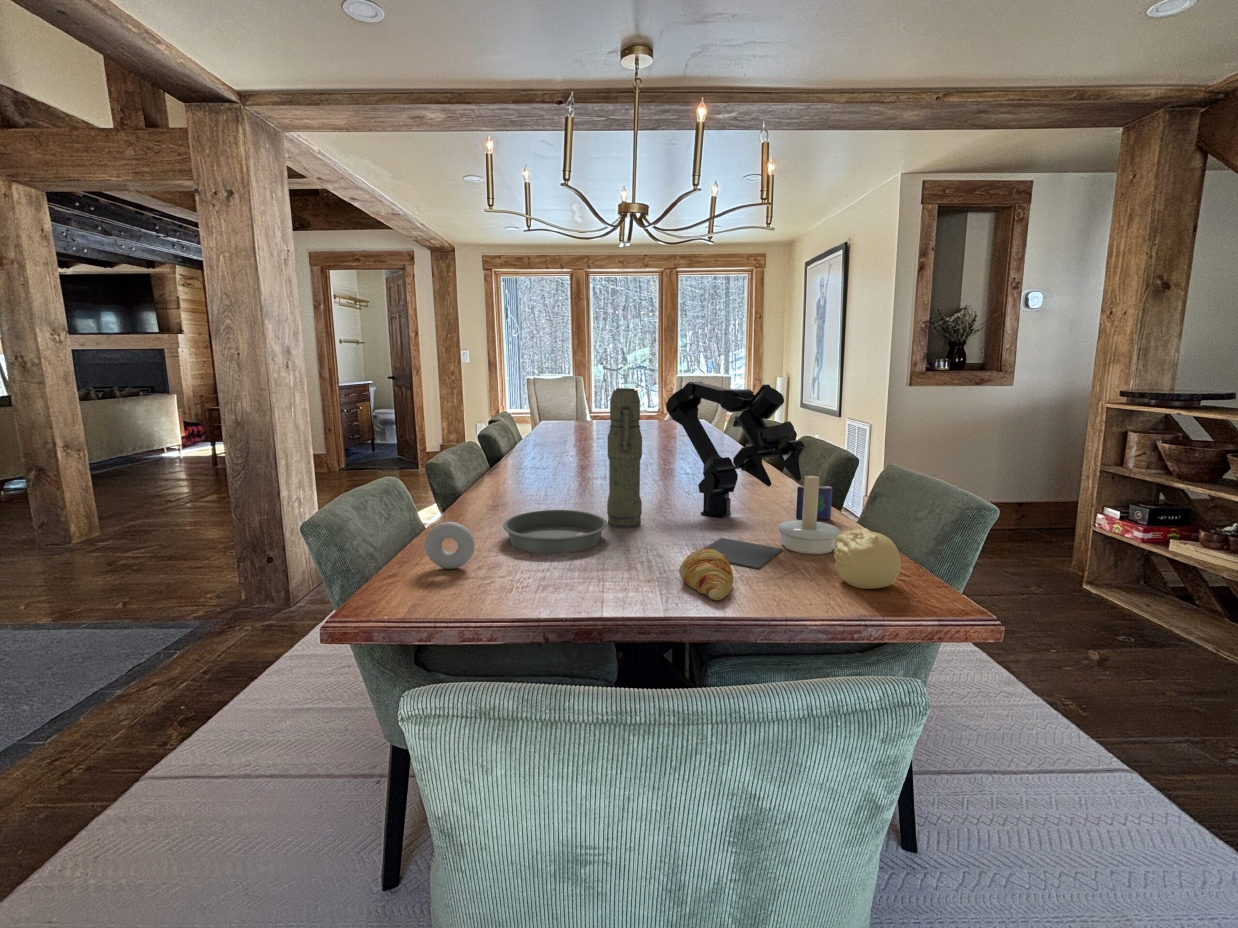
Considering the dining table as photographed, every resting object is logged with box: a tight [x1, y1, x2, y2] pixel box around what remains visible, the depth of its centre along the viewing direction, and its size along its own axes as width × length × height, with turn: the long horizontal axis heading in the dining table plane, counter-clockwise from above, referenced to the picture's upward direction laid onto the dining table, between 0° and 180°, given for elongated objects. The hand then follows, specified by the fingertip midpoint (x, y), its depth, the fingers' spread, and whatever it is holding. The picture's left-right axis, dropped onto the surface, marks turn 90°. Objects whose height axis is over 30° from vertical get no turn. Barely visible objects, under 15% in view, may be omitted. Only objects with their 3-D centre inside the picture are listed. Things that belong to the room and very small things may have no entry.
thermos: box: [606, 387, 643, 529], centre depth 159 cm, size 9×12×35 cm
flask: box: [795, 485, 833, 521], centre depth 166 cm, size 9×3×11 cm, turn 88°
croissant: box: [678, 548, 734, 601], centre depth 119 cm, size 21×10×8 cm, turn 6°
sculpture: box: [833, 527, 902, 590], centre depth 119 cm, size 11×12×11 cm
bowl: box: [779, 533, 836, 555], centre depth 142 cm, size 12×12×4 cm
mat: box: [702, 537, 784, 570], centre depth 138 cm, size 15×15×1 cm
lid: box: [777, 475, 841, 540], centre depth 141 cm, size 14×14×13 cm
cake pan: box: [502, 509, 608, 554], centre depth 147 cm, size 25×25×4 cm
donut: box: [424, 521, 475, 570], centre depth 127 cm, size 10×4×10 cm, turn 92°
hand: (785, 483), depth 148 cm, fingers open, 9 cm apart
